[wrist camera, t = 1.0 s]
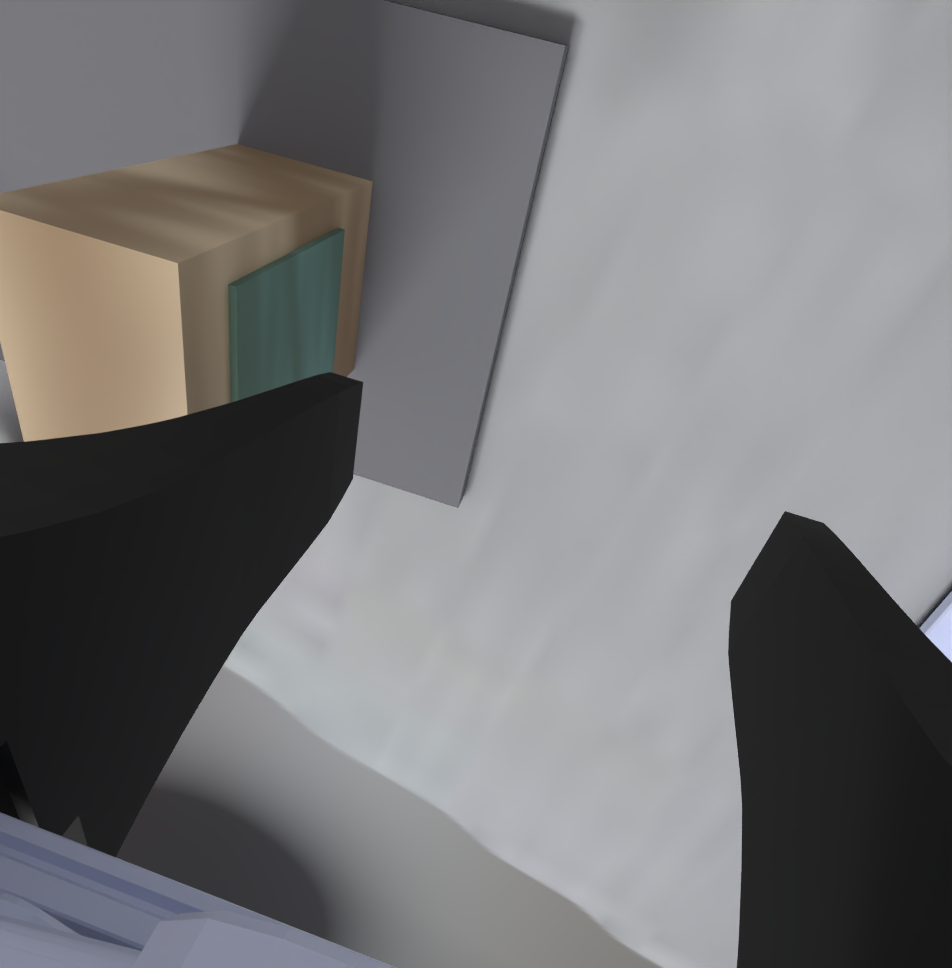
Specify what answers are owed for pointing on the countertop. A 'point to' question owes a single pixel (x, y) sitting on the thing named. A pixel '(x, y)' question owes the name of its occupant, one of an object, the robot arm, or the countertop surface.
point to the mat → (322, 165)
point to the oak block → (177, 287)
